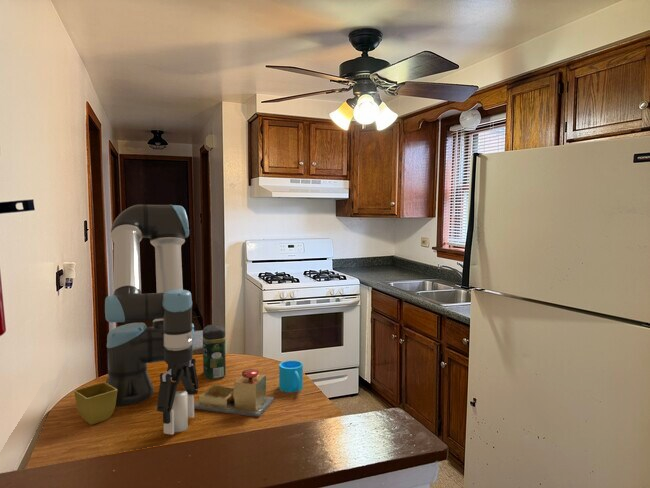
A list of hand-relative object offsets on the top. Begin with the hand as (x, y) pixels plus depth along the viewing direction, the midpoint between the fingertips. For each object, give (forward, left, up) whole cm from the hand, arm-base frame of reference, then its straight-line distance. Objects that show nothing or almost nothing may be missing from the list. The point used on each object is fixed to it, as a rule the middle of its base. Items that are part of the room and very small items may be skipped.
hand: (179, 424), depth 123 cm
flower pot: (-26, -2, -1) cm, 26 cm away
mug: (+22, +34, -1) cm, 41 cm away
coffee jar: (-10, +38, -1) cm, 39 cm away
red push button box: (+8, +18, -1) cm, 20 cm away
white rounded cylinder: (0, 0, -1) cm, 1 cm away
